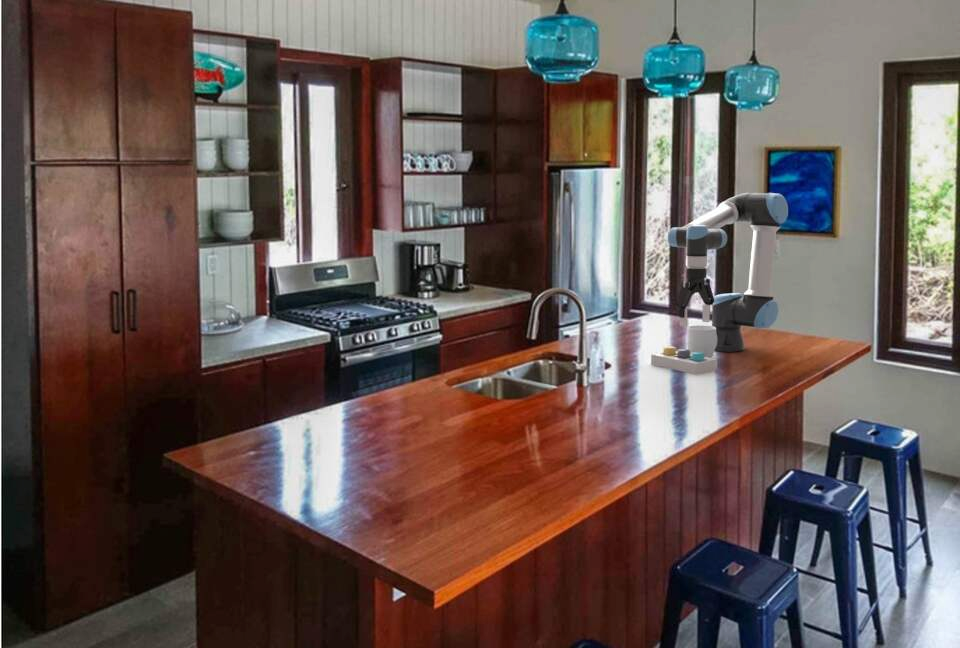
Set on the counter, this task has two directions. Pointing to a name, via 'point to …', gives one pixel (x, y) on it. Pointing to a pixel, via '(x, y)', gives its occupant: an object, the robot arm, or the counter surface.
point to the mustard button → (669, 350)
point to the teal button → (698, 356)
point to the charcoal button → (683, 353)
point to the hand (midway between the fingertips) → (694, 324)
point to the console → (683, 363)
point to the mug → (702, 339)
